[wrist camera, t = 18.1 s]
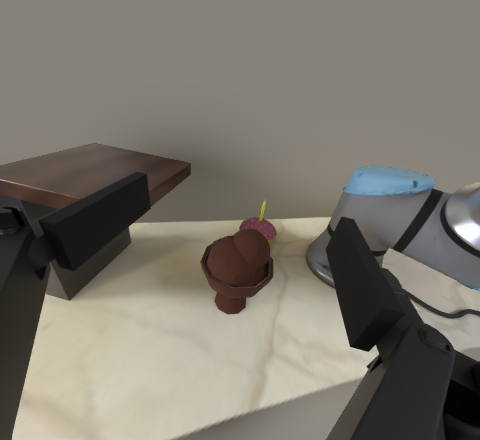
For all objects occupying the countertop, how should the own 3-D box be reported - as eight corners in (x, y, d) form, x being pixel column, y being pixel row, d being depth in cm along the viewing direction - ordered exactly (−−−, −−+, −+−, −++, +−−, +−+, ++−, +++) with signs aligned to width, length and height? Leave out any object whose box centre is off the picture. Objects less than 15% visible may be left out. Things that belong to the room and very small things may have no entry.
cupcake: (239, 232, 53) (247, 190, 46) (272, 239, 52) (284, 198, 46) (233, 254, 46) (241, 208, 39) (271, 262, 45) (285, 217, 39)
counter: (189, 255, 43) (190, 162, 33) (145, 326, 30) (124, 208, 19) (116, 237, 45) (94, 142, 34) (43, 296, 31) (-30, 172, 21)
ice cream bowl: (241, 269, 42) (255, 206, 34) (273, 316, 34) (300, 248, 26) (191, 284, 37) (193, 215, 29) (214, 343, 29) (226, 270, 21)
